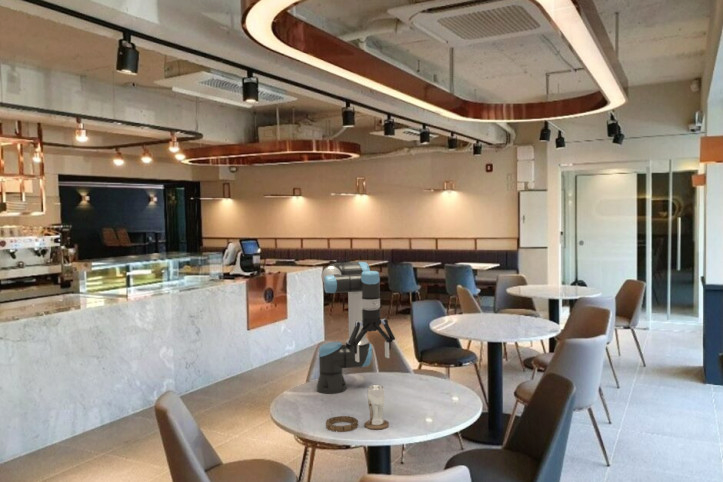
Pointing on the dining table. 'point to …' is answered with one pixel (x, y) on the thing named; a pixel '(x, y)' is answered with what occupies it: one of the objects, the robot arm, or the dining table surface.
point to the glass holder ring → (342, 419)
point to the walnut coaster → (376, 426)
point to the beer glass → (376, 404)
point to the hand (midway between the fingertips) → (372, 359)
